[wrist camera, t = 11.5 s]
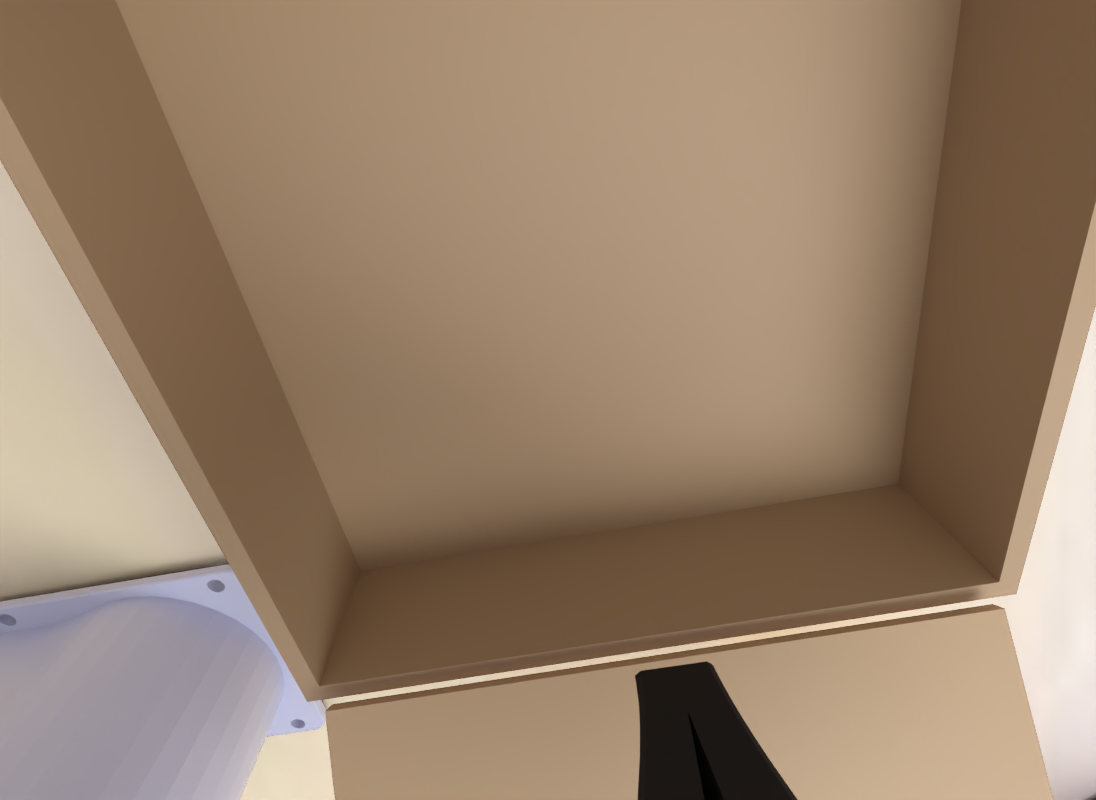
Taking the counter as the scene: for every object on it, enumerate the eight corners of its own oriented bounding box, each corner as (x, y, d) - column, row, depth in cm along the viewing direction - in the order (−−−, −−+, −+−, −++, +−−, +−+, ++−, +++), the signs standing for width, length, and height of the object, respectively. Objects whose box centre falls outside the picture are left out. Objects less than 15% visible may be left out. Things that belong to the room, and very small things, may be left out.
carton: (354, 575, 19) (307, 701, 15) (69, -72, 11) (-195, -184, 7) (905, 486, 18) (1015, 593, 14) (1010, -278, 10) (1327, -535, 6)
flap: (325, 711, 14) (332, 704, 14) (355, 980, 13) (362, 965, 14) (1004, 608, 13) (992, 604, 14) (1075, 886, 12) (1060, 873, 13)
